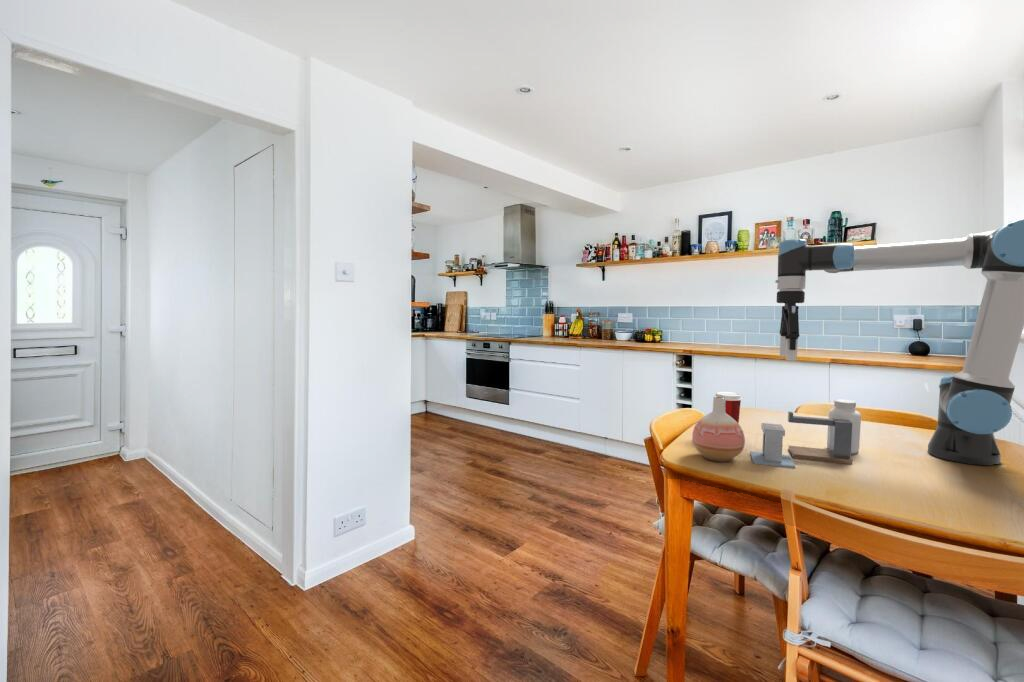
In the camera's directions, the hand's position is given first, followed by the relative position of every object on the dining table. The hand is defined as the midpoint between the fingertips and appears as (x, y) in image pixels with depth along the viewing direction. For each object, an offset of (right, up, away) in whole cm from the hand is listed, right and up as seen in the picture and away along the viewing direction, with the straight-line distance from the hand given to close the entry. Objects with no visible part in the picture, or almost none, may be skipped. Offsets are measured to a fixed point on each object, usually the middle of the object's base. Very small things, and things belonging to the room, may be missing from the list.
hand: (787, 358), depth 149 cm
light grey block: (-14, -27, -16) cm, 35 cm away
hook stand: (+2, -28, -13) cm, 31 cm away
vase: (-28, -28, -14) cm, 42 cm away
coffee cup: (-17, -27, +5) cm, 32 cm away
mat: (-14, -28, -16) cm, 35 cm away
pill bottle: (+13, -28, -6) cm, 31 cm away
